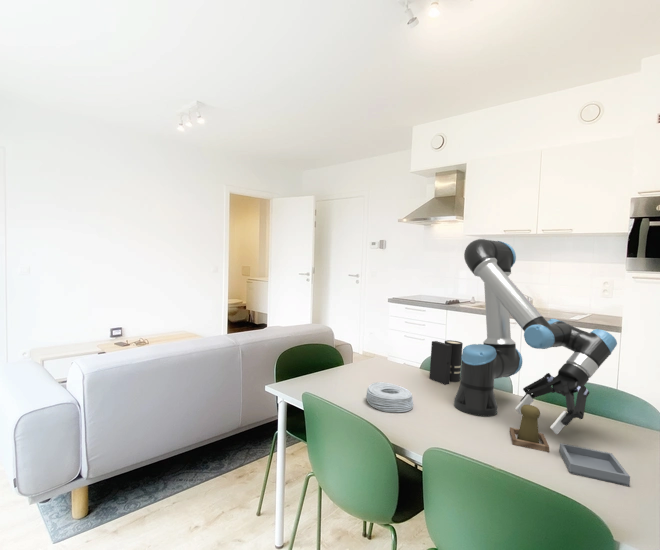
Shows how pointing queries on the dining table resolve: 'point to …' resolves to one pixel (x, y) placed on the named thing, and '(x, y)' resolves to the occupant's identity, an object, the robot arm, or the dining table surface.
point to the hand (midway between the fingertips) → (534, 421)
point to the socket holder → (532, 445)
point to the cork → (529, 424)
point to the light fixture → (446, 361)
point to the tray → (593, 464)
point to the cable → (389, 397)
